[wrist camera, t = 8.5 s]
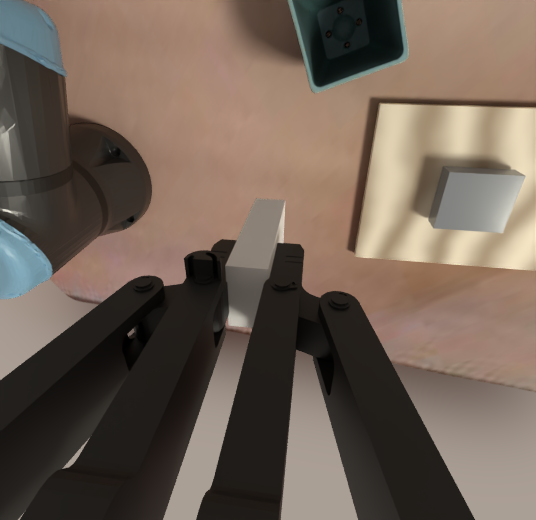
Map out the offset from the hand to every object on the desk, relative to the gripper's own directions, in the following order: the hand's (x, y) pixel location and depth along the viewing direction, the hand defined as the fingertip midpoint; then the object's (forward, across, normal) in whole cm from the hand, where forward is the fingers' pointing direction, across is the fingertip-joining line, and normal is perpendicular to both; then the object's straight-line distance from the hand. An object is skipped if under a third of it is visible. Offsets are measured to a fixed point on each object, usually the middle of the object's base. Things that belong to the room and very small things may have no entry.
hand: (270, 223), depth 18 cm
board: (+28, +21, -7) cm, 36 cm away
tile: (+26, +17, -7) cm, 32 cm away
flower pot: (+29, +4, +10) cm, 31 cm away
